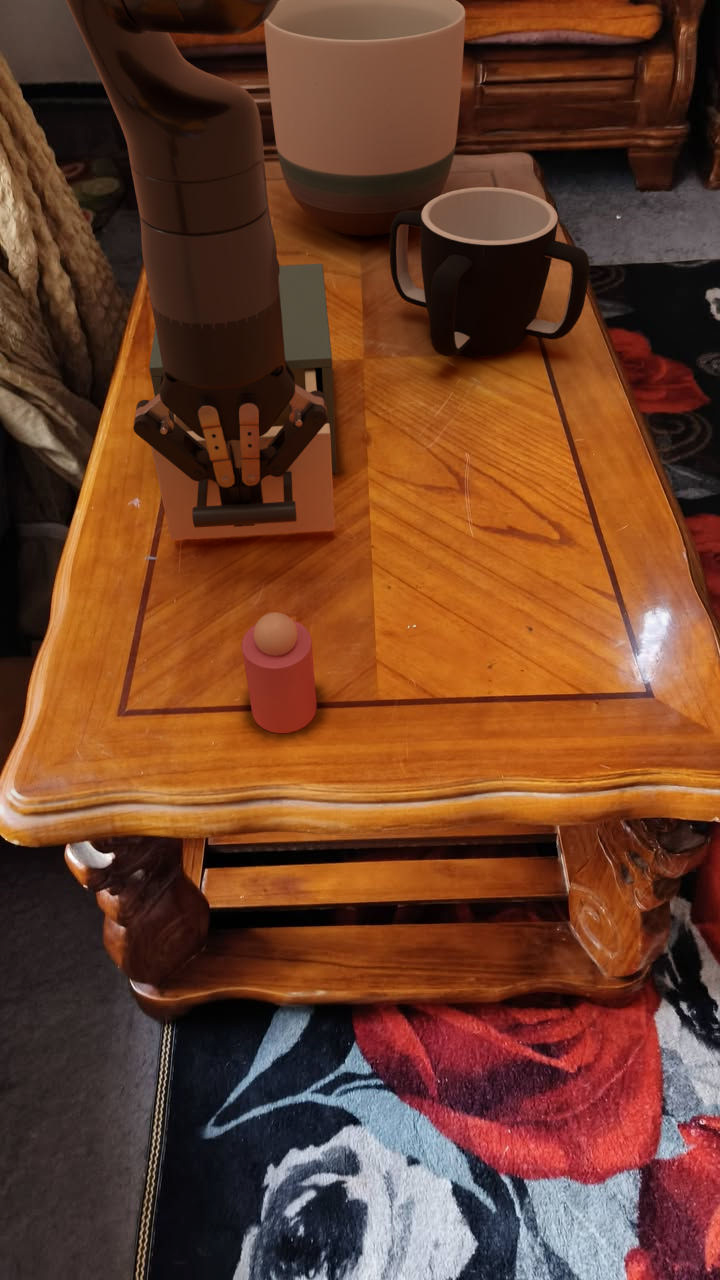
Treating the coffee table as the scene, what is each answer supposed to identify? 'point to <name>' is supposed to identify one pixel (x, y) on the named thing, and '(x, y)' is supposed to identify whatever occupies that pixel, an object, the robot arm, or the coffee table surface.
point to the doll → (280, 673)
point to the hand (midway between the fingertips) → (245, 518)
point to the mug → (486, 269)
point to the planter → (365, 105)
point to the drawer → (286, 499)
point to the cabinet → (295, 334)
